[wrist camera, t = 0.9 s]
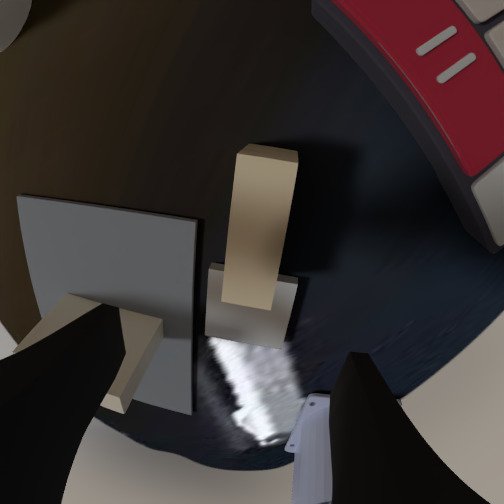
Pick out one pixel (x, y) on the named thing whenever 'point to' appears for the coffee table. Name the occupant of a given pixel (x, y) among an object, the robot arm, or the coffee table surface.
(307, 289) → the coffee table surface
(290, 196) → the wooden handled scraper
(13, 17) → the candle
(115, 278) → the mat
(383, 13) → the calculator
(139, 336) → the tile
